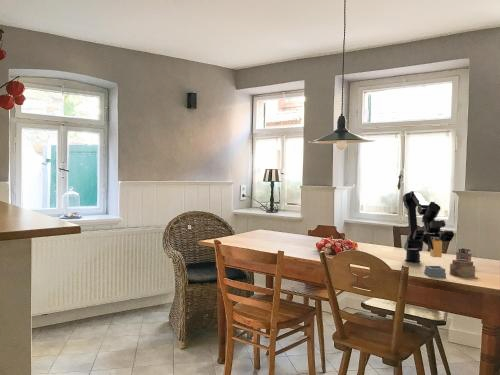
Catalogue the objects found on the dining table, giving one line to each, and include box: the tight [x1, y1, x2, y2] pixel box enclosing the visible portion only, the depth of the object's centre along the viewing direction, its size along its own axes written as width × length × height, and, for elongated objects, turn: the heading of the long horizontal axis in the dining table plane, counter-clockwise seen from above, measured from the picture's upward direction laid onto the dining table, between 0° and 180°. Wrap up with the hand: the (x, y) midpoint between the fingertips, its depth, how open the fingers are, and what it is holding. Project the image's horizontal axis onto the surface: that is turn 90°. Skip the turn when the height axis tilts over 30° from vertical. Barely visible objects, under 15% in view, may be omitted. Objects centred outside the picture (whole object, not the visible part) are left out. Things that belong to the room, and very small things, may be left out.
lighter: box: [455, 247, 473, 261], centre depth 240 cm, size 8×3×10 cm, turn 45°
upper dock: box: [449, 259, 476, 278], centre depth 219 cm, size 8×8×7 cm
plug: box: [429, 238, 443, 258], centre depth 216 cm, size 4×4×9 cm
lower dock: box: [424, 265, 447, 278], centre depth 216 cm, size 8×8×4 cm
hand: (437, 249), depth 215 cm, fingers closed on plug, 4 cm apart
